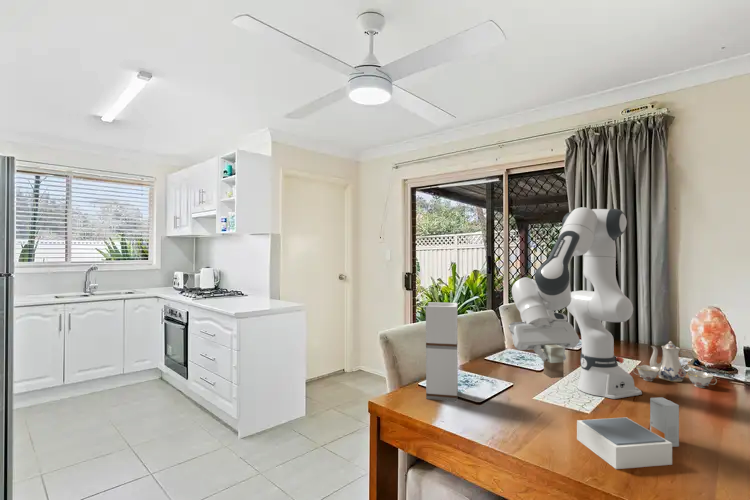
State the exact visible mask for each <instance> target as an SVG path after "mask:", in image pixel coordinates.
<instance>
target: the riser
mask: <svg viewBox="0 0 750 500" xmlns="http://www.w3.org/2000/svg"><path fill="white" fill-rule="evenodd" d="M576 440H577V441H579V442H580V443H581V444H582V445H584V446H585V447H586V448H588V449H589V450H590V451H591V452H593V453H594V454H595V455H597V456H598V457H599V458H600V459H602V460H603V461H604V462H606V463H607V464H609V465H610V466H611V467H613V468H614V469H615V470H621V469H635V468H644V467H645V468H646V467H647V468H648V467H659V466H668V465H669V466H671V465H672V466H673V447H672V443H671V442H669V441H667V440H666V439H664V438H662V437H660V436H659V435H657V434H655V433H653V432H651V431H650V429H648V428H646V427H644V426H643V425H641V424H639V423H638V422H636V421H633V420H632V419H630V418H628V417H627V416H626V417H624V416H623V417H612V418H611V417H609V418H595V419H583V420H581V419H579V420H578V419H577V420H576Z"/></svg>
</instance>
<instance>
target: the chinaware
mask: <svg viewBox="0 0 750 500" xmlns="http://www.w3.org/2000/svg"><path fill="white" fill-rule="evenodd" d="M650 347H651V348H652V349H653V351H652V354H651V357H650V359H649V365H647V364H642V365H635V366H634V368H633V369H632V373H633V374H634V375H637V376H639V378H643V379H642V380H644V381H646V382H652V381H653V380H654V379H655V378H656V377H658V378H659V379H661V380H663V381H669V382H676V383H678V382H679V383H680V382H683V381H684V378H685V377H686V375H688V376H687V377H688V379H689V381H690V382H691V383H692V384H693V386H695V388H701V389H703V388H705V389H706V386H707V387H709V385H712V386H714V385H716V384H717V383H718V380H717V378H716V377H715V376H714V375H713V374H712V373H707V372H705V371H702V370H701V371H699V370H698V371H694V370H689V368H690V365H692V364H693V363H694V362H695V356H694V354H693V353H692V352H691V351H689V350H684V349H681V348H680V347H678V346H676V345H675V344H674V343H673V341H671V340H669V341H668V343H666V344H665V345H661V348H662V357H661V360H660V362H659V363H657V357H658V348H657V347H656V346H655V345H650ZM684 352H685V353H688V354H690V355H691V358H692V359H691V362H690V363H687V364H682V363H681V361H680V358H679V354H680V355H684ZM635 369H636V370H637V371H638V373H636V372H635ZM686 371H687V372H686ZM713 379H715V383H711V382H712V380H713Z"/></svg>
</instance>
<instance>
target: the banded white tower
mask: <svg viewBox="0 0 750 500" xmlns="http://www.w3.org/2000/svg"><path fill="white" fill-rule="evenodd" d="M427 303H428V304H427V305H425V380H426V381H425V384H426V385H425V386H426V387H425V390H426V391H425V396H426V397H425V398H426V400H437V401H448V402H449V401H450V402H458V396H459V395H458V393H459V391H458V390H459V387H458V386H459V385H458V384H459V382H458V381H459V379H458V378H459V377H458V376H459V375H458V373H459V372H458V371H459V370H458V368H459V367H458V365H459V363H458V358H459V357H458V355H459V354H458V353H459V352H458V351H459V349H458V348H459V347H458V335H459V334H458V325H459V324H458V302H439V301H437V302H435V301H434V302H433V301H432V302H431V301H429V302H427ZM457 395H458V396H457Z"/></svg>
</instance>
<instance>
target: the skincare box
mask: <svg viewBox="0 0 750 500" xmlns="http://www.w3.org/2000/svg"><path fill="white" fill-rule="evenodd" d="M649 400H650V401H649V405H650V407H649V408H650V410H649V411H650V412H649V413H650V414H649V415H650V416H649V430H650V431H651V432H653V433H655V434H657V435H659V436H660V437H662V438H664V439H666V440H667V441H669V442H671V443H672V448H674V447H675V448H676V447H677V448H678V447H680V405H679V404H678V403H675V402H673V401H671V400H668V399H666V398H664V397H650V398H649Z"/></svg>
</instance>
